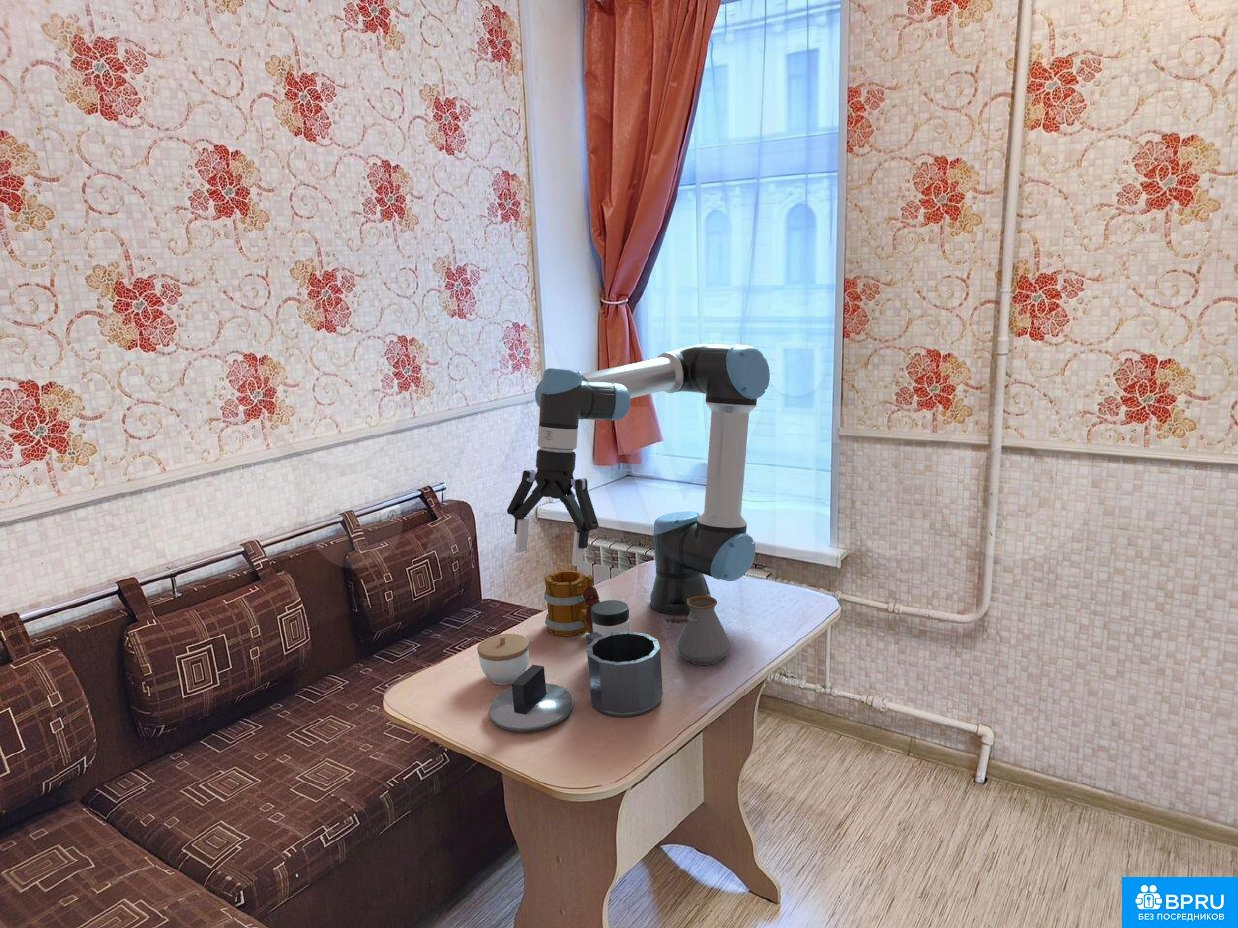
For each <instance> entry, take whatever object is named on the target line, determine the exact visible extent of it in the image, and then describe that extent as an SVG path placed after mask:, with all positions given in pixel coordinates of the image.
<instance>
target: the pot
mask: <svg viewBox="0 0 1238 928" xmlns="http://www.w3.org/2000/svg"><path fill="white" fill-rule="evenodd" d="M585 639H586V640H585V641H586V645H587V646H586V653H587V655H586V656H587V666H588V681H589V694H590V702H591V705H592V708H593V709H594V710H596V712H598V713H599V714H600V713H601V714H602V715H605V716H608V717H613V718H633V717H637V716H643V715H645V714H648V713H650V712H652V711H654V710H655V709H656V708H658V707H659V706H660V704H661V703H662V701H663V695H664V694H663V678H662V677H663V674H662V659H661V658H662V657H661V655H662V654H661V647H660V643H659V639H657V638H655V637H654V636H651V635H650V634H647V633H643V632H637V631H636V632H635V631H631V630H630V631H627V632H617V633H610V634H607V635H604V636H602V635H601V634H599V633H597V632H593V633H591V634H589V633H588V634H586V635H585Z"/></svg>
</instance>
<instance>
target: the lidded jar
mask: <svg viewBox="0 0 1238 928" xmlns="http://www.w3.org/2000/svg"><path fill="white" fill-rule="evenodd" d="M529 647H530V643H529V639H528V638H527V637H526V636H523V635H522V634H516V633H500V634H496V635H492V636H490V637H487V638H485V639H483V640H482V641H480V643H479V644H477V654H478V661H479V666H480V668H481V671H482V673H483V674H484V676H486V677H487V679H489V680H490V681H491V682H492V683H494V684H495V685H499V686H509V685H512V683H513V682H514V681H515V680H516V679H517V678H518V677H520V676H521V675H522V674H523V673H524V672H525V671H526V670H527V669H528V666H529V661H530V648H529Z"/></svg>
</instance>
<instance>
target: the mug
mask: <svg viewBox="0 0 1238 928" xmlns="http://www.w3.org/2000/svg"><path fill="white" fill-rule="evenodd" d="M544 584H545V591H544V595H543V599H544V601H546V604H547V614H546V616H545V621H544V623H545V625H546V626H547V631H548V632H549V633H550V634H552V635H556V636H561V637H572V636H578V635H581V634H583V633H585V632H587V633H588V634H591V633H593V624H592V618H591V607H592V606H593V605H594V604H596V603H598V602H601V601H600V597H599V593H598V591H597V588H596V587H594V586H593V585H594V577H593V576H592V575H591V574H589V575H587V576H586V574H584V572H581V571H578V570H577V571H576V570H571V569H570V570H568V569H566V570H559V571H555V572H552V573H550V574H548V575H547V576H545V577H544Z"/></svg>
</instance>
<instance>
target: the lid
mask: <svg viewBox="0 0 1238 928" xmlns="http://www.w3.org/2000/svg"><path fill="white" fill-rule="evenodd" d="M572 709H573V698H572V695H571V693H570V692H569V691H568V690H567V689H566V688H564V687H563V686H560V685H557V684H554V683H547V682H546V675H545V666H544V665H537V664H532V665H531V666H530V667H529V668H527V669H526V671H525V672H524V673H523V674H522V675H521V676H520V677H518V678H517V679H516V680H515V681H514V682H513V683H512V684H511V687H510V688H508V689H505V690H504V691H501V692H500V693H498V694H497V695H496V696H495V697H494V698H493V699H492V700H491V702H490V704H489V707H488V713H489V718H490V720H491V722H492V723H493V724H494V725H496V726H497V727H499V728H500V729H504V730H507V731H511V732H533V731H534V732H535V731H539V730H543V729H546V728H547V729H548V728H550V727H552V726H554V725H557V724H558V723H560V722H562V721H563V720H564V719H566V718H567V717H568V716H569V715H570V714H571V712H572Z"/></svg>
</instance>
